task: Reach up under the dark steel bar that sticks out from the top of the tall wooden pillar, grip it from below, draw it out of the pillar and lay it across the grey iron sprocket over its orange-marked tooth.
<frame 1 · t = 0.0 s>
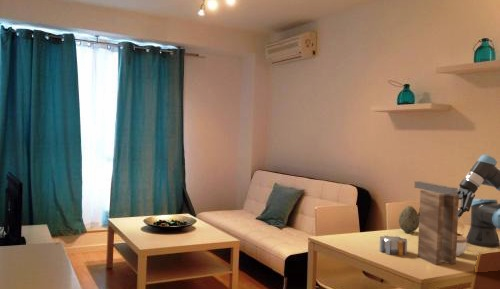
hand: (444, 218, 202), 15 cm above the table, tool tilted 35°, fingers open, 13 cm apart
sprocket: (392, 251, 197), on the table
tall wooden pillar: (436, 260, 185), on the table
pneumatic valve: (426, 227, 255), on the table
lidded jar: (453, 254, 197), on the table
decorative egg: (408, 232, 238), on the table
steel bar: (434, 191, 187), point 30 cm above the table, touching tall wooden pillar
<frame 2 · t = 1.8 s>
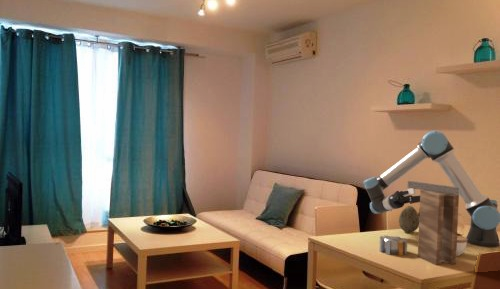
hand: (425, 192, 200), 28 cm above the table, tool pointing upward, fingers open, 13 cm apart
steel bar: (431, 190, 188), point 30 cm above the table, touching gripper
everything else where it was.
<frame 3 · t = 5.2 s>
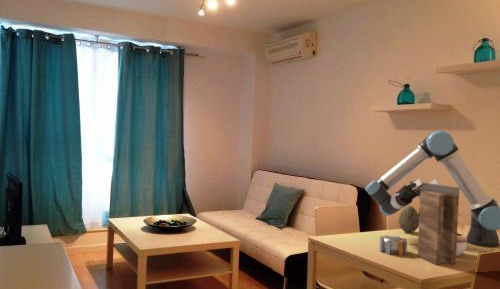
hand: (429, 181, 191), 34 cm above the table, tool pointing upward, fingers open, 8 cm apart
steel bar: (433, 191, 188), point 30 cm above the table
everything else where it was.
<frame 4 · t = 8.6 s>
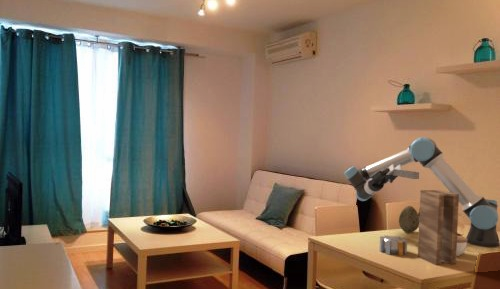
hand: (397, 166, 206), 39 cm above the table, tool pointing upward, fingers closed on steel bar, 3 cm apart
steel bar: (400, 176, 203), point 35 cm above the table, touching gripper
everything else where it was.
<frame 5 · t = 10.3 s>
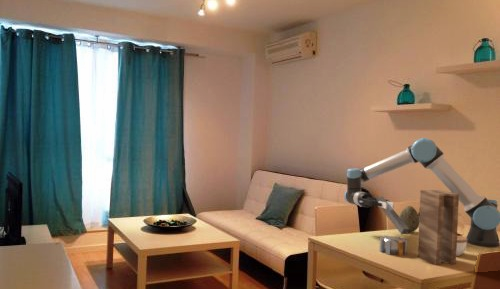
hand: (389, 205, 201), 21 cm above the table, tool horizontal, fingers closed on steel bar, 3 cm apart
steel bar: (390, 216, 200), point 16 cm above the table, tilted 28°, touching gripper
everything else where it was.
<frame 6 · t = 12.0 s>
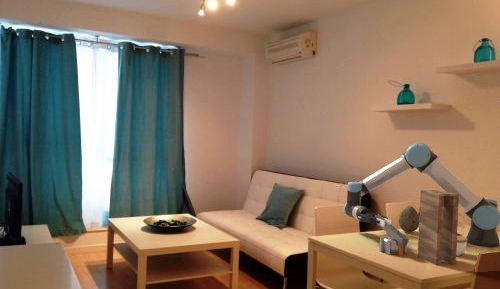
hand: (387, 223, 201), 12 cm above the table, tool horizontal, fingers closed on steel bar, 3 cm apart
steel bar: (389, 232, 200), point 8 cm above the table, tilted 14°, touching gripper, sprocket
everything else where it was.
when the fingers open (10 cm above the table, at t = 12.7 s): steel bar stays where it is, resting on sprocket.
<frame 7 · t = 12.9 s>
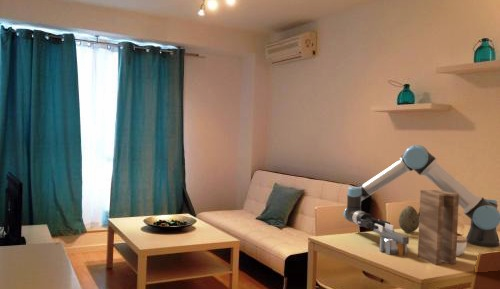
hand: (387, 229, 201), 10 cm above the table, tool horizontal, fingers open, 5 cm apart
steel bar: (390, 237, 199), point 6 cm above the table, touching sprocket
everything else where it was.
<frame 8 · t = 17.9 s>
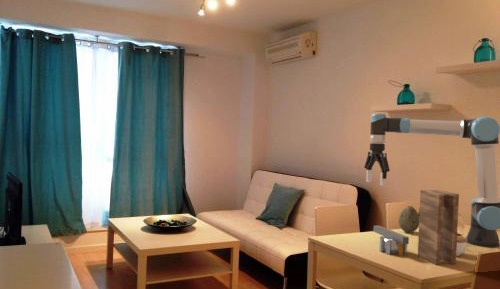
hand: (375, 183, 222), 29 cm above the table, tool pointing down, fingers open, 13 cm apart
nothing on the table moved.
at the end: steel bar 2.7 cm from the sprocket (horizontally); steel bar inside the target area on the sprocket (2.7 cm from its centre), point 6.0 cm above the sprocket's base; the gripper is holding nothing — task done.
